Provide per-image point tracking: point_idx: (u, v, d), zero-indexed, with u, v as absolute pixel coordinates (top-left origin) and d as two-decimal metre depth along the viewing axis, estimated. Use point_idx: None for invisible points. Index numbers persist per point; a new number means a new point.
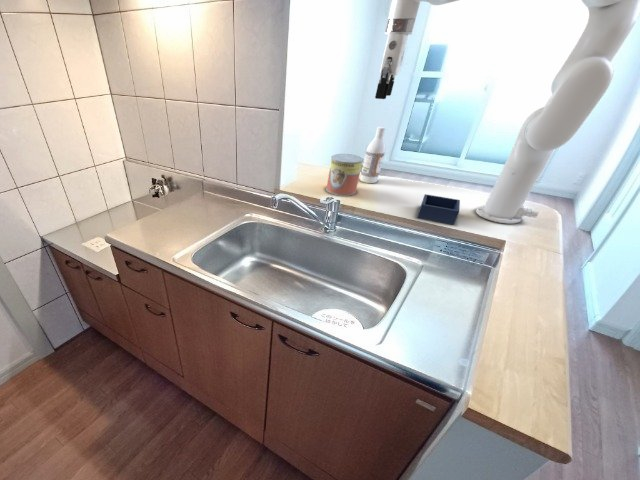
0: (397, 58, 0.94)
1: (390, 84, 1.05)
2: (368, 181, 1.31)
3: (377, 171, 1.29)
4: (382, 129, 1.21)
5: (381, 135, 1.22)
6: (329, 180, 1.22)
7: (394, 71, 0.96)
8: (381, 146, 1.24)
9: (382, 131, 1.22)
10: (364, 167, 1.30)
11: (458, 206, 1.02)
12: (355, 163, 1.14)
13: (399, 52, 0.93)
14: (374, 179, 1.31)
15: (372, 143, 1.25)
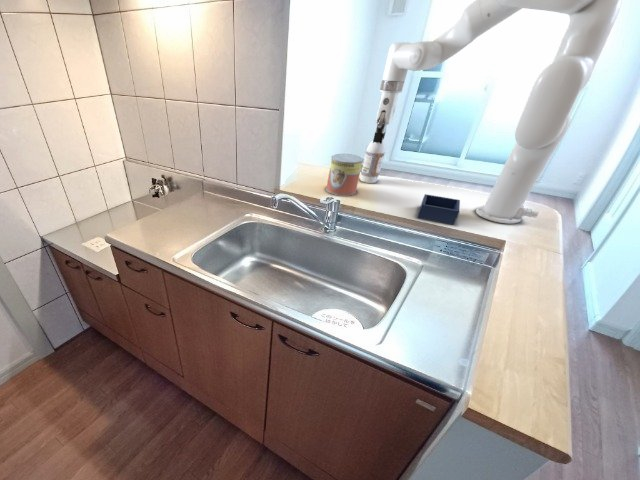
0: (390, 111, 1.14)
1: None
2: (368, 181, 1.31)
3: (377, 171, 1.29)
4: None
5: None
6: (329, 180, 1.22)
7: (387, 121, 1.16)
8: (381, 146, 1.24)
9: None
10: (364, 167, 1.30)
11: (458, 206, 1.02)
12: (355, 163, 1.14)
13: (391, 107, 1.13)
14: (374, 179, 1.31)
15: (372, 143, 1.25)
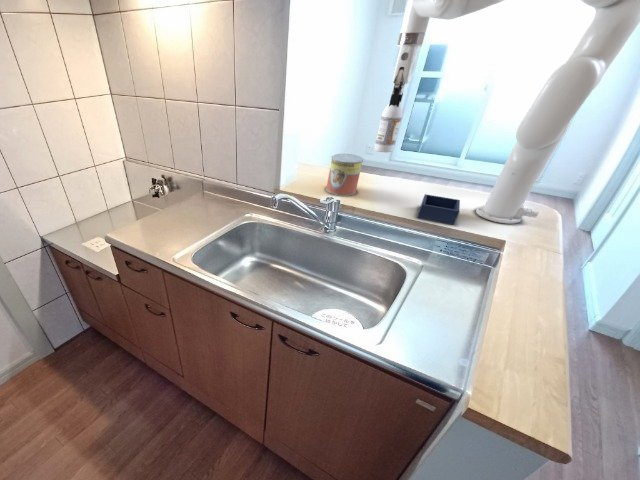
0: (409, 68, 1.04)
1: None
2: (383, 150, 1.21)
3: (393, 138, 1.18)
4: None
5: None
6: (329, 180, 1.22)
7: (406, 79, 1.05)
8: (398, 109, 1.13)
9: None
10: (379, 135, 1.19)
11: (458, 206, 1.02)
12: (355, 163, 1.14)
13: (410, 62, 1.03)
14: (389, 147, 1.20)
15: (388, 107, 1.14)
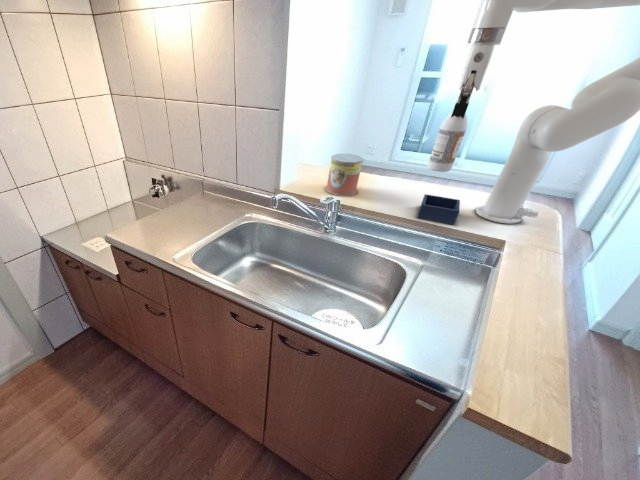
0: (483, 72, 0.83)
1: None
2: (440, 169, 1.01)
3: (454, 156, 0.98)
4: None
5: None
6: (329, 180, 1.22)
7: (478, 86, 0.85)
8: (463, 121, 0.93)
9: None
10: (436, 151, 0.99)
11: (458, 206, 1.02)
12: (355, 163, 1.14)
13: (486, 65, 0.83)
14: (448, 166, 1.00)
15: (450, 118, 0.94)
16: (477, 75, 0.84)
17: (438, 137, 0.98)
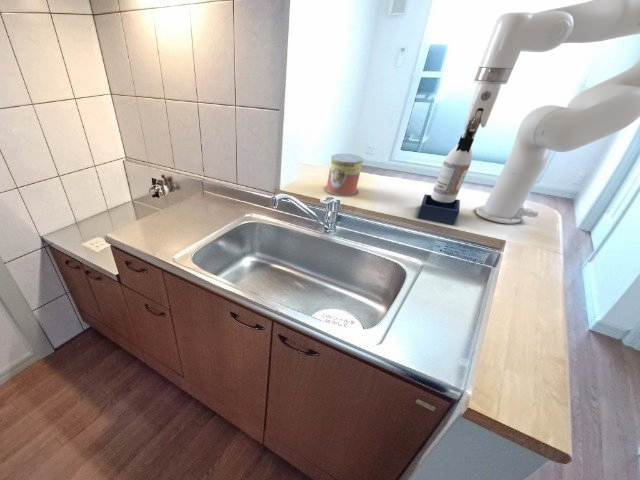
0: (489, 110, 0.84)
1: None
2: (444, 200, 1.01)
3: (458, 188, 0.99)
4: None
5: None
6: (329, 180, 1.22)
7: (484, 123, 0.86)
8: (468, 156, 0.93)
9: None
10: (440, 182, 1.00)
11: (458, 206, 1.02)
12: (355, 163, 1.14)
13: (493, 104, 0.83)
14: (452, 198, 1.00)
15: (455, 151, 0.94)
16: (484, 113, 0.84)
17: (443, 169, 0.98)
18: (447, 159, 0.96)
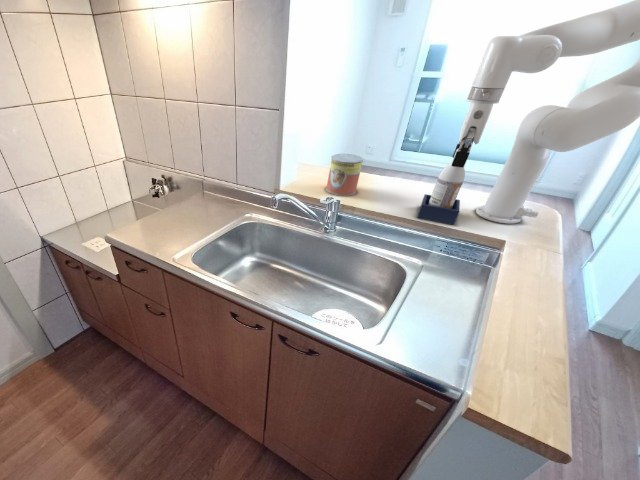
0: (482, 128, 0.86)
1: None
2: None
3: (451, 204, 1.02)
4: None
5: None
6: (329, 180, 1.22)
7: (477, 141, 0.88)
8: (461, 173, 0.96)
9: None
10: (434, 198, 1.03)
11: (458, 206, 1.02)
12: (355, 163, 1.14)
13: (485, 122, 0.86)
14: None
15: (448, 169, 0.97)
16: (476, 131, 0.87)
17: (437, 186, 1.01)
18: (441, 176, 0.99)
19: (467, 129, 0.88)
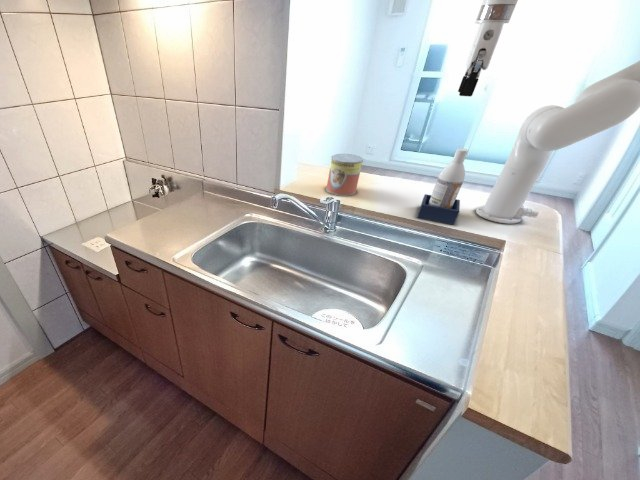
0: (492, 50, 0.83)
1: None
2: None
3: (451, 204, 1.02)
4: (464, 152, 0.94)
5: (462, 159, 0.95)
6: (329, 180, 1.22)
7: (486, 65, 0.85)
8: (461, 173, 0.96)
9: (464, 155, 0.94)
10: (434, 198, 1.03)
11: (458, 206, 1.02)
12: (355, 163, 1.14)
13: (495, 43, 0.82)
14: None
15: (448, 169, 0.97)
16: (486, 53, 0.84)
17: (437, 186, 1.01)
18: (441, 176, 0.99)
19: (476, 52, 0.84)
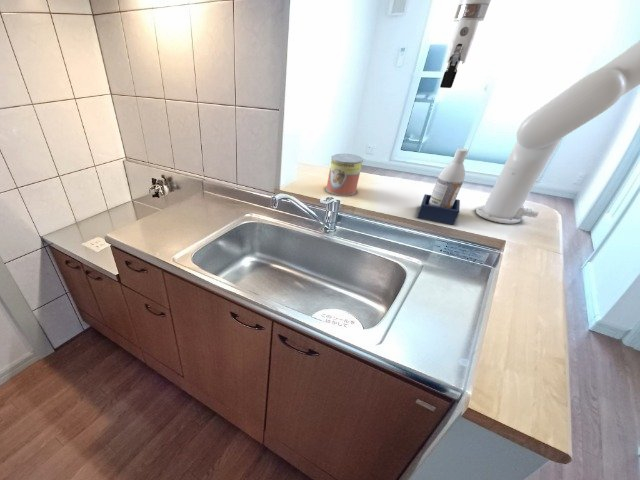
0: (468, 45, 0.91)
1: None
2: None
3: (451, 204, 1.02)
4: (464, 152, 0.94)
5: (462, 159, 0.95)
6: (329, 180, 1.22)
7: (463, 59, 0.93)
8: (461, 173, 0.96)
9: (464, 155, 0.94)
10: (434, 198, 1.03)
11: (458, 206, 1.02)
12: (355, 163, 1.14)
13: (471, 39, 0.91)
14: None
15: (448, 169, 0.97)
16: (463, 48, 0.92)
17: (437, 186, 1.01)
18: (441, 176, 0.99)
19: (454, 47, 0.93)
